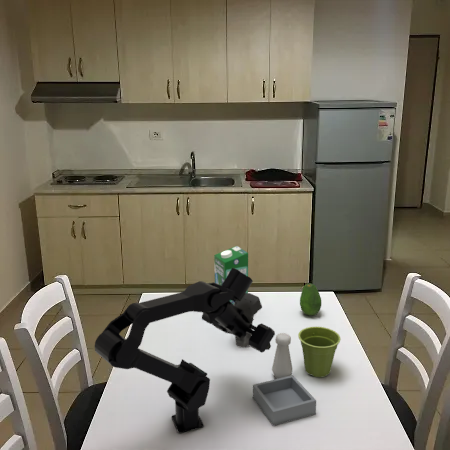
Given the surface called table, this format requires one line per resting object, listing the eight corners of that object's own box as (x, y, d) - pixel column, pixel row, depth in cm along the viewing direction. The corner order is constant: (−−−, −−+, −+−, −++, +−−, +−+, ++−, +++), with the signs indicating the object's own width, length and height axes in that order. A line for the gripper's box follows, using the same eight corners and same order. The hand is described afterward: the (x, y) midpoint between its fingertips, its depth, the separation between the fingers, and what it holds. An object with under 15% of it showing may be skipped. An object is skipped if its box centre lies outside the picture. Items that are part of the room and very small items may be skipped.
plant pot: (288, 366, 142) (290, 332, 139) (320, 356, 148) (322, 323, 145) (313, 387, 132) (315, 350, 129) (347, 375, 138) (349, 340, 135)
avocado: (296, 310, 179) (298, 280, 175) (317, 309, 179) (319, 279, 176) (302, 320, 171) (303, 289, 168) (323, 319, 172) (325, 288, 168)
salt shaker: (291, 383, 134) (292, 341, 131) (270, 381, 135) (271, 339, 132) (292, 371, 140) (294, 331, 136) (273, 369, 141) (274, 329, 137)
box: (315, 414, 121) (316, 400, 120) (273, 426, 117) (273, 411, 116) (292, 387, 132) (292, 375, 131) (252, 397, 128) (252, 384, 127)
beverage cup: (227, 346, 154) (227, 288, 148) (237, 336, 160) (238, 280, 155) (248, 351, 151) (249, 292, 145) (258, 341, 157) (258, 284, 151)
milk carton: (214, 313, 177) (214, 248, 170) (236, 308, 180) (236, 245, 174) (225, 323, 169) (224, 256, 162) (248, 318, 172) (248, 252, 166)
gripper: (271, 299, 116) (298, 328, 126) (220, 277, 129) (249, 305, 139) (246, 339, 113) (276, 365, 122) (197, 312, 126) (228, 338, 136)
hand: (257, 341), depth 130 cm, fingers open, 9 cm apart
